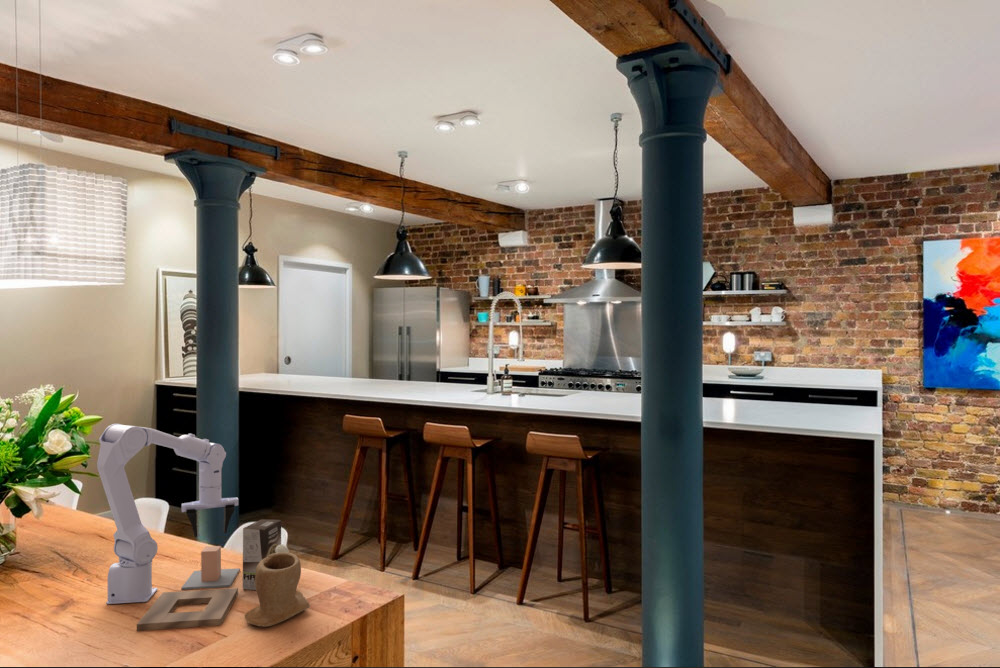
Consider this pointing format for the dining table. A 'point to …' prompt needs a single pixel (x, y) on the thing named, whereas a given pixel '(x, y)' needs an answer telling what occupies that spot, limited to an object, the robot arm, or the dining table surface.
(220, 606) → the walnut pocket board
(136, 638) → the dining table surface
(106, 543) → the dining table surface
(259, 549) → the coffee box
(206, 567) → the terracotta block
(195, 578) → the slate mat
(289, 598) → the stone cup
